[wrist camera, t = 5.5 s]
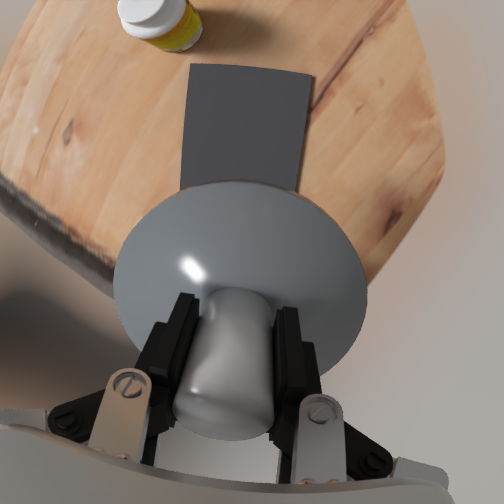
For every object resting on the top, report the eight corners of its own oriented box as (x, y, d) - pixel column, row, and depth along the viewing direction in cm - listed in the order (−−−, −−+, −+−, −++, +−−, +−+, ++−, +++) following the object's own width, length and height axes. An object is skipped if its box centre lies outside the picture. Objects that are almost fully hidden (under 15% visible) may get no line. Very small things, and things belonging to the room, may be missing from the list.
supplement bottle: (215, 23, 23) (192, -13, 14) (180, 62, 25) (142, 43, 16) (176, 0, 22) (140, -37, 12) (142, 38, 24) (94, 16, 14)
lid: (117, 167, 11) (13, 217, 5) (391, 204, 11) (477, 279, 5) (134, 364, 15) (99, 449, 10) (323, 389, 16) (336, 480, 10)
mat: (191, 64, 25) (190, 63, 25) (311, 75, 25) (312, 75, 25) (181, 192, 31) (179, 193, 31) (291, 205, 32) (292, 206, 31)
